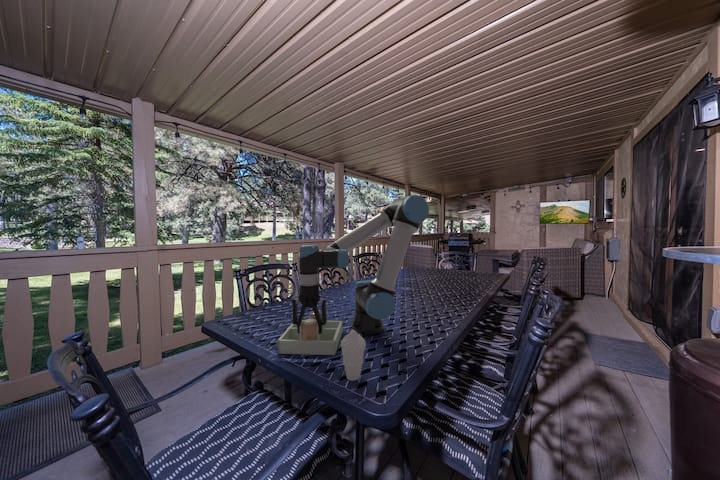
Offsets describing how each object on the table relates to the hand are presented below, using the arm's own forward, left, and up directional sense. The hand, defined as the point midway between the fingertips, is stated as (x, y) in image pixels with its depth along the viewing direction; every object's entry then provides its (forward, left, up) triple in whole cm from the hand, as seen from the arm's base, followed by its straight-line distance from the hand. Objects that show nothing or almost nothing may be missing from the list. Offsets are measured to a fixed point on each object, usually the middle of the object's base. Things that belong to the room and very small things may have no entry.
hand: (309, 341), depth 108 cm
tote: (0, -5, -3) cm, 6 cm away
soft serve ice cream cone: (-19, +19, -3) cm, 27 cm away
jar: (0, 0, -1) cm, 1 cm away
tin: (0, -11, -2) cm, 11 cm away
